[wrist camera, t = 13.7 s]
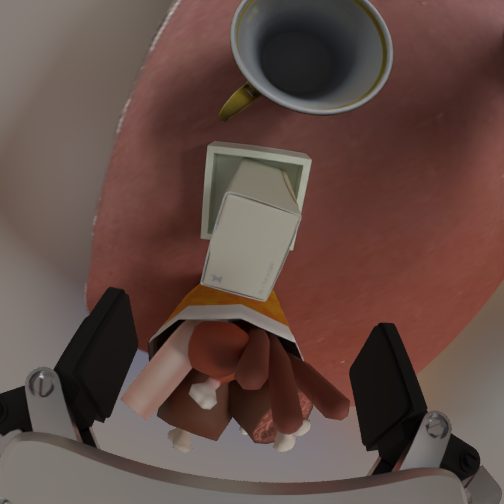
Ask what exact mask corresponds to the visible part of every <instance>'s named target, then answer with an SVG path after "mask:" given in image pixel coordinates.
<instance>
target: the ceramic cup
mask: <svg viewBox="0 0 504 504" xmlns="http://www.w3.org/2000/svg"><path fill="white" fill-rule="evenodd" d="M230 44H231V50H232V54H233V57H234V60H235V62H236V64H237V66H238V68H239V70H240V71H241V73H242V74H243V76H244V77H245V78H246V79H247V83H246V84H244V85H243V86H242V87H241V88H239V89H238V90H237V91H236V92H235V93H234V94H233V95H232V96H231V97H230V98H229V99H228V101H227V102H226V103H225V105H224V106H223V107H222V109H221V111H220V113H219V118H220V120H221V121H223V122H226V121H228V120H229V119H231V118H232V117H234V116H235V115H237V114H238V113H239V112H241V111H242V110H244V109H245V108H247V107H248V106H249V105H251V104H252V103H253V102H254V101H255V100H256V99H258V98H259V97H261V96H265V97H266V98H268V99H269V100H271V101H272V102H274V103H276V104H278V105H280V106H282V107H284V108H287V109H290V110H292V111H296V112H299V113H304V114H310V115H321V116H326V115H337V114H343V113H347V112H350V111H353V110H355V109H358V108H360V107H362V106H363V105H365V104H367V103H368V102H370V101H371V100H372V99H373V98H375V97H376V96H377V94H378V93H379V92H380V91H381V90H382V89H383V87H384V86H385V84H386V82H387V80H388V78H389V76H390V73H391V70H392V65H393V56H394V54H393V44H392V39H391V36H390V32H389V30H388V28H387V25H386V24H385V22H384V20H383V18H382V17H381V15H380V14H379V12H378V11H377V10H376V9H375V7H374V6H373V5H372V4H371V3H370V2H369V1H368V0H243V1H242V2H241V3H240V5H239V6H238V8H237V10H236V12H235V14H234V16H233V19H232V23H231V28H230Z"/></svg>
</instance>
